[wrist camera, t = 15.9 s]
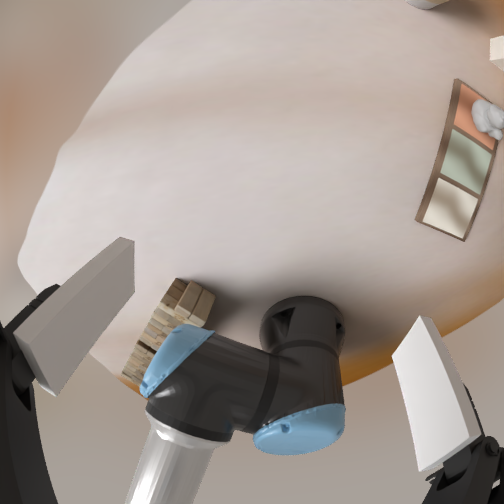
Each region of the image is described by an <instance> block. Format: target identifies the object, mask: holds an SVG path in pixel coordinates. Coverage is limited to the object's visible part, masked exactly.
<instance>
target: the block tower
mask: <svg viewBox="0 0 504 504" xmlns="http://www.w3.org/2000/svg"><path fill="white" fill-rule="evenodd" d="M215 297H216V296H215V295H214V294H212V293H211V292H209V291H207V290H206V289H203V287H201V286H200V285H198V284H197V283H195V282H193V281H190V283H189V284H188V285H186V284H184V283H183V282H181V281H180V280H178V279H177V278H176V279H175V280H174V282H173V283H172V285H171V286H170V288H169V289H168V291H167V292H166V294H165V295H164V297H163V298H162V300H161V301H160V303H159V305H158V306H157V308H156V310H155V311H154V313H153V314H152V316H151V319H150V321H149V323H148V324H147V326H146V328H145V329H144V331H143V333H142V335H141V337H140V338H139V340H138V341H137V343H136V345H135V348H134V350H133V352H132V353H131V355H130V357H129V359H128V361H127V363H126V365H125V367H124V369H123V371H122V373H121V376H123V377H125V378H126V379H128V380H129V381H131V382H133V383H134V384H136V385H138V386H139V387H140V385H141V383H142V381H143V377H144V375H145V373H146V370H147V368H148V366H149V365H150V363H151V361H152V359H153V357H154V356H155V354H156V352H157V351H158V349H159V348H160V346H161V345H162V343H163V342H164V340H165V339H166V338H167V336H168V335H169V334H170V333H171V331H172V330H173V329H174V328H176V327H177V326H179V325H181V324H191V325H194V326H197V327H200V328H201V327H203V326H204V324H205V323H206V321H207V318H208V316H209V313H210V310H211V308H212V305H213V303H214V300H215Z"/></svg>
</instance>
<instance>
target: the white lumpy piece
mask: <svg viewBox="0 0 504 504" xmlns="http://www.w3.org/2000/svg"><path fill="white" fill-rule="evenodd" d="M471 114H472V117H473V122H474V124H475V126H476V128H477V130H478V131H480V132H485V133H488V134H489V136H490V137H494V138H495V139H497V140H501V139H502V137H503V134H502V131H501V129H503V128H504V111H503V110H502V109H501V108H499V107H498V106H496V105H494V104H491V103H490V102H488V101H485V100H483V99H478V100H476V101H475V102H474V103H473V106H472V111H471Z"/></svg>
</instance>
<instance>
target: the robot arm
mask: <svg viewBox="0 0 504 504" xmlns="http://www.w3.org/2000/svg"><path fill="white" fill-rule="evenodd" d="M134 292H135V287H134V241H132V240H129V239H126V238H122V237H119V238H118V239H116V240H115V241H114V242H113V243H111V244H110V245H109V246H108V247H106V248H105V249H104V250H103V251H101V252H100V253H99V254H98V255H97V256H95V257H94V258H93V259H92V260H90V261H89V262H88V263H87V264H86V265H85V266H83V267H82V268H81V269H80V270H79V271H77V272H76V273H75V274H74V275H73V276H72V277H71V278H69V279H68V280H67V281H66V282H65V283H64V284H63V285H62V286H60V285H58V284H55V285H53V286H51V287H48V288H46V289H44V290H43V291H42V292H41V293H40V294H39V295H38V296H37V297H36V299H34V300H32V302H30V303H29V305H27V306H26V307H25V308H24V309H23V310H22V311H21V312H20V313H19V314H18V315H17V316H16V317H15V318H14V319H13V320H12V321H11V322H10V323H9V324H8V325H7V326H6V327H5V328H3V327H2V324H1V322H0V504H58V502H57V499H56V496H55V494H54V490H53V487H52V484H51V481H50V477H49V474H48V470H47V466H46V462H45V459H44V454H43V450H42V445H41V440H40V434H39V429H38V422H37V416H36V408H35V398H34V388H33V385H32V382H33V380H34V379H35V378H36V379H37V381H38V383H39V384H40V386H41V387H42V388H43V389H45V390H46V391H48V392H49V393H51V394H52V395H54V396H55V397H57V396H58V394H59V393H60V391H61V390H62V388H63V387H64V385H65V384H66V383H67V381H68V380H69V378H70V377H71V375H72V374H73V373H74V371H75V370H76V368H77V367H78V365H79V364H80V363H81V361H82V360H83V358H84V357H85V356H86V354H87V353H88V352H89V350H90V349H91V348H92V346H93V345H94V344H95V342H96V341H97V340H98V338H99V337H100V336H101V334H102V333H103V332H104V330H105V329H106V328H107V326H108V325H109V324H110V323H111V321H112V320H113V319H114V317H115V316H116V315H117V314H118V312H119V311H120V310H121V309H122V307H123V306H124V305H125V304H126V302H127V301H128V300H129V299H130V297H131V296H132V295H133V294H134ZM344 337H345V328H344V323H343V318H342V316H341V314H340V312H339V311H338V310H337V308H336V307H334V306H333V305H332V304H330V303H329V302H327V301H325V300H323V299H320V298H316V297H310V296H298V297H292V298H288V299H285V300H283V301H280V302H278V303H277V304H275V305H274V306H272V307H271V308H270V309H269V310H268V311H267V312H266V313H265V315H264V317H263V319H262V322H261V327H260V342H261V346H262V349H263V350H260V349H257V348H254V347H251V346H248V345H245V344H243V343H240V342H237V341H234V340H232V339H229V338H226V337H223V336H221V335H218V334H216V333H215V331H213V330H211V331H209V330H206V329H203V328H200V327H197V326H194V325H191V324H181V325H179V326H177V327H176V328H174V329H173V330H172V331H171V333H170V334H169V335H168V336H167V338H166V339H165V340H164V342H163V343H162V345H161V346H160V348H159V349H158V351H157V352H156V354H155V356H154V357H153V359H152V361H151V363H150V365H149V366H148V368H147V370H146V373H145V375H144V377H143V381H142V383H141V385H140V393H141V394H142V395H143V396H144V397H145V398H149V400H148V403H147V406H146V409H145V413H146V415H147V417H148V419H149V421H150V423H151V429H150V432H149V435H148V437H147V440H146V443H145V446H144V448H143V451H142V454H141V457H140V460H139V463H138V466H137V468H136V471H135V474H134V477H133V480H132V483H131V486H130V489H129V492H128V495H127V498H126V501H125V504H192V503H193V501H194V498H195V496H196V494H197V491H198V489H199V486H200V483H201V481H202V478H203V476H204V473H205V471H206V469H207V466H208V464H209V461H210V459H211V456H212V453H213V451H214V449H215V448H218V447H220V446H223V445H225V444H228V443H229V442H230V439H231V437H232V435H233V432H234V430H239V431H243V432H246V433H251V434H253V441H254V444H255V446H256V448H258V449H260V450H261V451H263V452H265V453H269V454H275V455H297V454H305V453H309V452H314V451H317V450H320V449H323V448H325V447H327V446H329V445H331V444H332V443H334V442H335V441H336V440H338V439H339V438H340V436H341V435H342V433H343V431H344V426H345V425H344V422H345V419H344V418H345V410H346V408H345V406H344V397H343V390H342V381H341V373H340V366H339V355H340V352H341V349H342V345H343V341H344ZM392 359H393V362H394V365H395V368H396V372H397V375H398V379H399V382H400V386H401V390H402V393H403V397H404V401H405V405H406V409H407V414H408V417H409V422H410V427H411V432H412V436H413V441H414V446H415V452H416V457H417V463H418V470H419V472H420V471H426V470H430V469H433V468H435V467H437V466H438V465H440V464H441V463H443V466H444V467H443V468H442V469H440V470H438V471H436V472H435V473H433V474H431V475H430V476H428V477H427V478H426V481H428V480H430V479H431V478H433V477H435V479H433V480H431V481H430V484H432V486H431V488H430V490H429V492H428V493H427V496H426V497H425V499H424V501H423V503H422V504H504V448H502V447H499V444H498V442H497V441H496V440H495V438H493V437H491V436H487V437H485V434H484V432H483V428H482V425H481V423H480V420H479V417H478V414H477V411H476V409H474V407H475V406H474V404H473V401H471V400H472V398H471V396H470V393H469V391H468V389H467V388H466V386H465V385H464V384H463V383H462V380H461V378H460V376H459V373H458V371H457V369H456V367H455V365H454V362H453V360H452V358H451V356H450V354H449V352H448V350H447V348H446V346H445V344H444V342H443V340H442V338H441V336H440V334H439V332H438V330H437V328H436V326H435V324H434V322H433V321H432V319H431V318H430V317H425V316H421V315H419V317H418V319H417V320H416V322H415V323H414V325H413V326H412V328H411V329H410V331H409V332H408V334H407V335H406V337H405V338H404V340H403V341H402V343H401V344H400V345H399V347H398V348H397V350H396V351H395V352H394V354H393V355H392ZM499 479H500V484H499V485H498V486H496V487H495V488H493V489H492V486H493V483H494V482H496V481H497V480H499Z"/></svg>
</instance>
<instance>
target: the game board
mask: <svg viewBox="0 0 504 504" xmlns="http://www.w3.org/2000/svg"><path fill="white" fill-rule="evenodd" d="M478 99H483V100H485V101H488V100H487V99H486V98H484V97H483V96H482V95H480V94H479V93H478V92H476V91H475V90H474V89H472V88H471V87H469V86H468V85H466V84H465V83H464V82H462V81H461V80H459V79H454V84H453V90H452V95H451V100H450V105H449V110H448V115H447V119H446V123H445V128H444V132H443V135H442V139H441V143H440V147H439V150H438V154H437V157H436V160H435V164H434V167H433V170H432V173H431V176H430V179H429V182H428V185H427V188H426V191H425V194H424V196H423V199H422V202H421V205H420V207H419V210H418V212H417V215H416V217H415V220H416V221H417V222H419V223H421V224H424V225H426V226H429V227H431V228H433V229H436V230H438V231H441V232H443V233H445V234H448V235H450V236H452V237H454V238H457V239H459V240H461V241H463V242H465V240H466V237H467V235H468V233H469V230H470V228H471V226H472V223H473V221H474V218H475V216H476V213H477V211H478V208H479V205H480V202H481V200H482V197H483V194H484V191H485V188H486V185H487V182H488V178H489V175H490V172H491V168H492V165H493V161H494V157H495V153H496V149H497V145H498V140H497V139H495V138H494V137H490V136H489V134H488V133H485V132H480V131H478V130H477V128H476V126H475V124H474V122H473V117H472V114H471V111H472V106H473V103H474V102H475V101H476V100H478ZM488 102H490V101H488ZM490 103H491V102H490ZM491 104H492V103H491Z"/></svg>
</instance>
